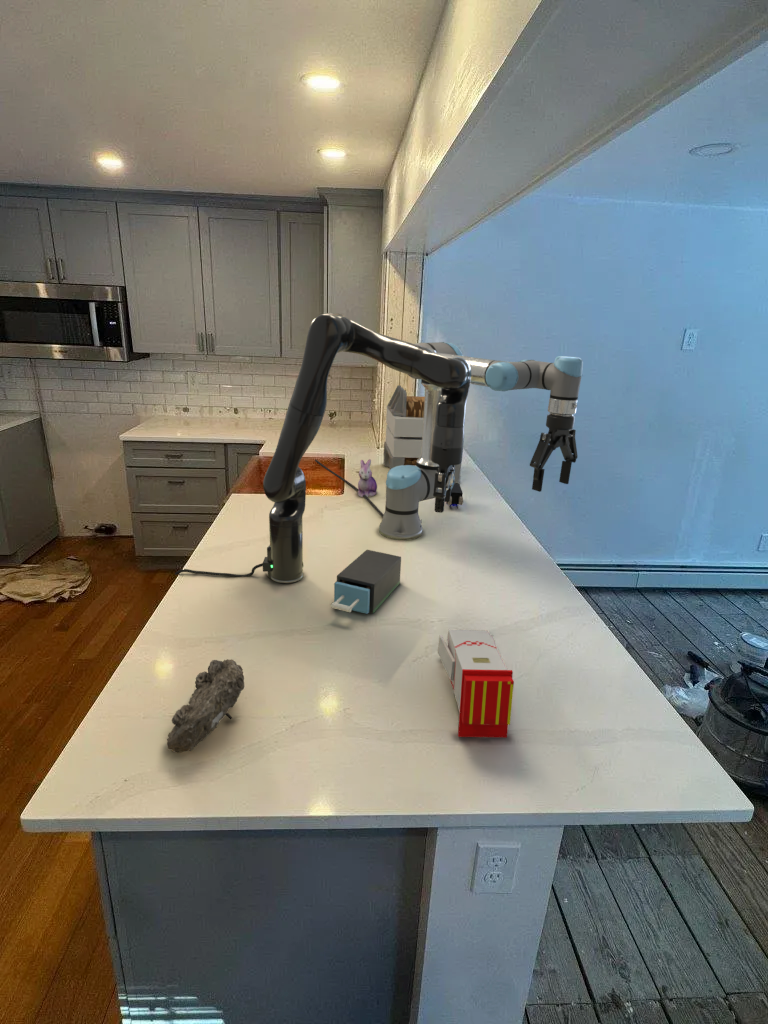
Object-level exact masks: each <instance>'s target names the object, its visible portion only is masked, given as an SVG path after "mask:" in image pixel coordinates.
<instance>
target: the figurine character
mask: <svg viewBox="0 0 768 1024" xmlns="http://www.w3.org/2000/svg"><path fill="white" fill-rule="evenodd" d="M463 494H464V493H463V490H462V487H461V485H460V483H454V485H453V487H452V489H451V496H450V501H449V502H446V504H447V506H449V509H450V510H451V509H452V507H455V508H456V509H457V510H458V509H459V506H463V503H464V497H463Z"/></svg>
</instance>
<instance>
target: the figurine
mask: <svg viewBox="0 0 768 1024" xmlns="http://www.w3.org/2000/svg"><path fill="white" fill-rule="evenodd" d="M359 461H360V463H359V464H360V468H359V471H358V477H359V480H358V482H357V489H359V490H358V492H357V495H358V497H361V498H364V497H363V495H365V496H367V497H368V498H369V497H373V496H376V495H377V490H378V484H377V481H376V478H375V477H373V472H372V470H371V465H372V460H371V458H369V459H368V460H367V461H366V462H365V461H364V460H363V459H360V460H359Z"/></svg>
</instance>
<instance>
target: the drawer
mask: <svg viewBox="0 0 768 1024" xmlns="http://www.w3.org/2000/svg"><path fill="white" fill-rule="evenodd" d="M333 585H334V589H333V602H331V603H330V608H332V609H335V610H340V611H343V612H347V613H351V612H352V611H354V612H357V613H362V614H366V615H368V614H370V612H369V606H370V601H371V587H370V586H366V585H362V584H358V583H353V582H349V581H345V580H342V583H341V582H337V580H336V581H335V582H334V583H333Z"/></svg>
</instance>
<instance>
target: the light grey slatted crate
mask: <svg viewBox="0 0 768 1024" xmlns="http://www.w3.org/2000/svg"><path fill="white" fill-rule="evenodd" d="M407 394H408V393H407V390H406V389H404V388H403V387H402V385H399V384H398V385H397V386H396V388H395V390H394V392H393V394H392V395H391V398H390V400H389V402H388V404H387V405H386V413H385V414H386V415H385V423H386V428H385V438H384V442H383V466H384V467H388V468H389V470H390V469H392V468H394V467H396V466H401V465H404V466H405V465H413V466H416V462H417V459H419V458H420V457H421V450H422V433H423V417H424V401H425V396H415V395H414V396H413V395H412V396H411V395H407ZM461 472H462V463H461V464H459V465H455V472H454V483H455V484H460V483H461Z"/></svg>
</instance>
